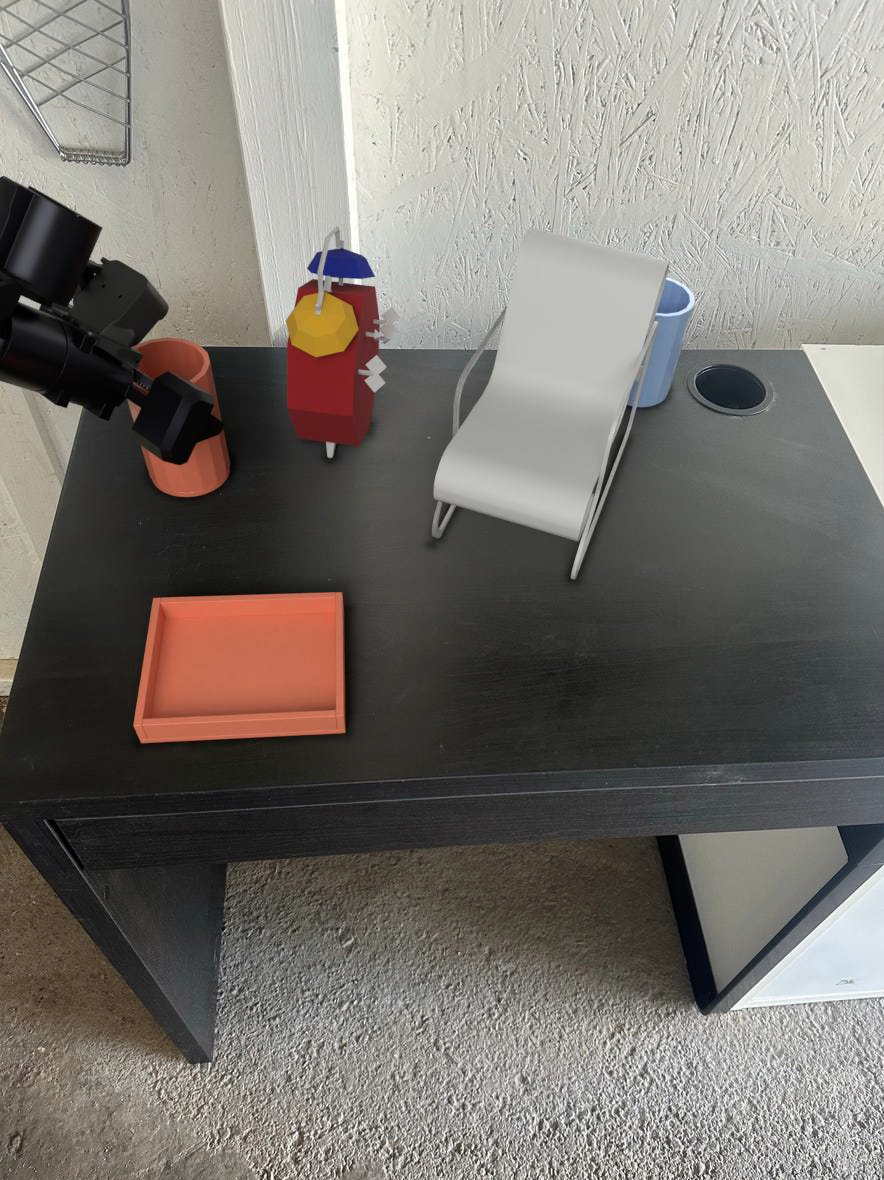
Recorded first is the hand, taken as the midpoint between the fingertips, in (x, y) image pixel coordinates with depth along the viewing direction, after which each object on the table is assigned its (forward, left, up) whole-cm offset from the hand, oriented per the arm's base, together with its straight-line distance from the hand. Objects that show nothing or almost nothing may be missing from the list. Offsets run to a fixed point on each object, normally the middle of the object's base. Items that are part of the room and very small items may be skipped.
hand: (186, 405), depth 80 cm
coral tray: (-10, -24, -7) cm, 26 cm away
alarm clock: (+15, -4, -7) cm, 17 cm away
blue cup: (+44, -17, -7) cm, 48 cm away
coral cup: (-1, 0, -7) cm, 7 cm away
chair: (+24, -22, -7) cm, 33 cm away
